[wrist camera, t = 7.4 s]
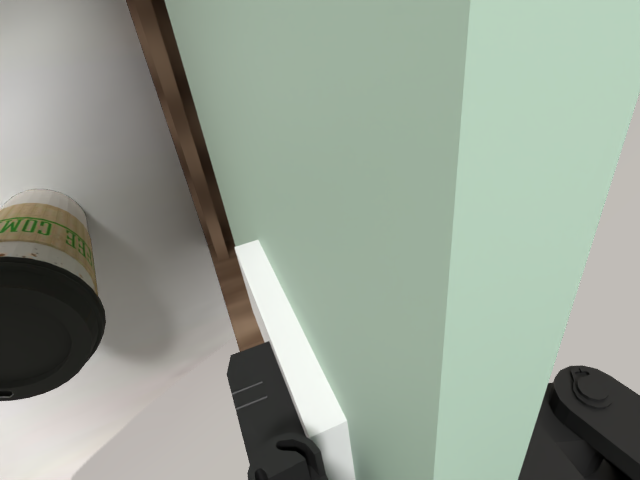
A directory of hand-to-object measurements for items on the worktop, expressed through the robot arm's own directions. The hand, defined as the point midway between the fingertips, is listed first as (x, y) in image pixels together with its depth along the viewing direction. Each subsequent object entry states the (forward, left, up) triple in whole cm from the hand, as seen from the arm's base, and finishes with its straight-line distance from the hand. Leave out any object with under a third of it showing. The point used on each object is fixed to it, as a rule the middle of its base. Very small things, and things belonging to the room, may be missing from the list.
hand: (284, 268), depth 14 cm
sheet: (0, 0, -13) cm, 13 cm away
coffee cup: (+8, -14, -27) cm, 31 cm away
